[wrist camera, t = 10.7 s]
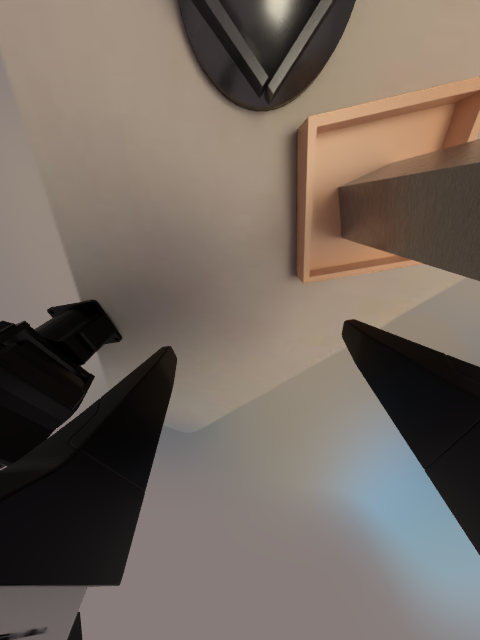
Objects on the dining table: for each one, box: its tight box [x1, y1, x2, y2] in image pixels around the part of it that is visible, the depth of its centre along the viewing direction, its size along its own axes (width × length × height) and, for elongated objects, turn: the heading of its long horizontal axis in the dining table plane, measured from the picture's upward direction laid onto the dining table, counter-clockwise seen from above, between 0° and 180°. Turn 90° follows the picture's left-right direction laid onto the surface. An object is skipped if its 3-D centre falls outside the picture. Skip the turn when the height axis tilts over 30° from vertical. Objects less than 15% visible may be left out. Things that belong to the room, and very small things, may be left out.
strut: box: [338, 139, 480, 281], centre depth 11 cm, size 4×4×14 cm
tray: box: [297, 76, 480, 283], centre depth 16 cm, size 12×12×2 cm
